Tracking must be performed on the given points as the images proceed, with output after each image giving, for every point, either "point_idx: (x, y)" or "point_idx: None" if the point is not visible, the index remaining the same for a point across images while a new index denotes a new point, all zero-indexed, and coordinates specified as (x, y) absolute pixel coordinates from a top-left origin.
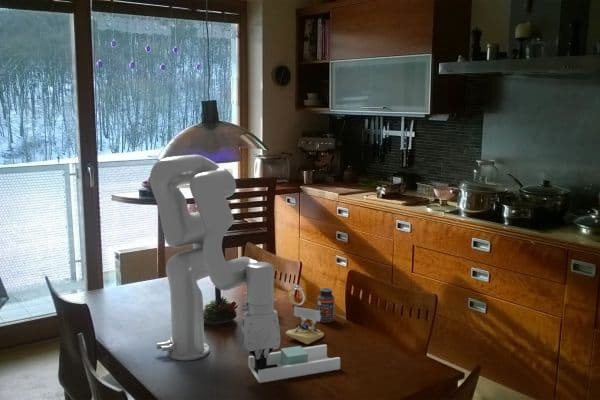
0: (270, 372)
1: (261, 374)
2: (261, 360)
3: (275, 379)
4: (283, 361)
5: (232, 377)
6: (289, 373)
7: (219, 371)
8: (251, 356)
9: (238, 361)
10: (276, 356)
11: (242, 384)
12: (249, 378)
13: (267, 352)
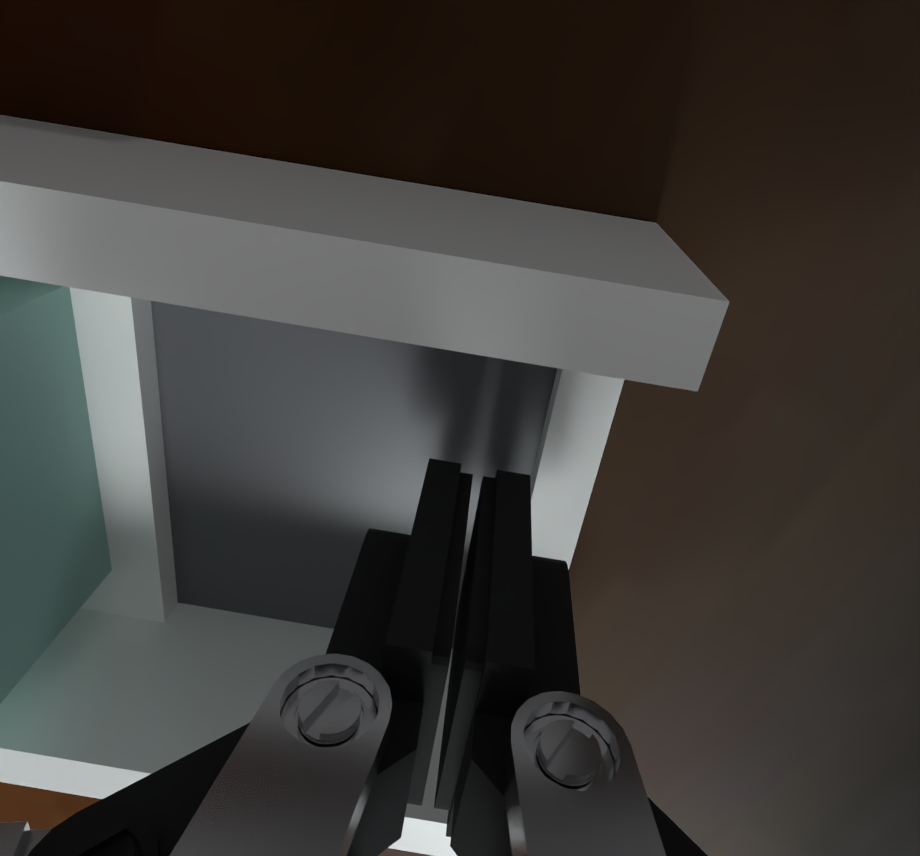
0: (422, 235)
1: (649, 268)
2: (490, 633)
3: (346, 181)
4: (21, 546)
5: (821, 623)
6: (10, 143)
7: (841, 787)
8: None
9: None
10: (99, 712)
11: (853, 398)
12: (648, 501)
13: (257, 794)
